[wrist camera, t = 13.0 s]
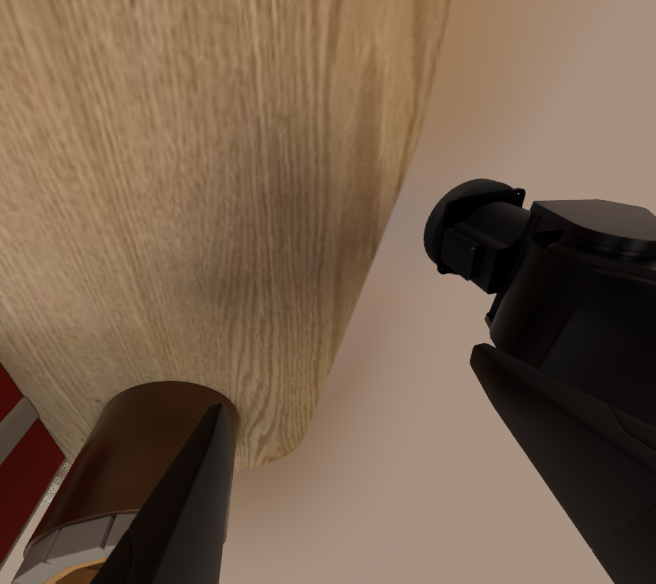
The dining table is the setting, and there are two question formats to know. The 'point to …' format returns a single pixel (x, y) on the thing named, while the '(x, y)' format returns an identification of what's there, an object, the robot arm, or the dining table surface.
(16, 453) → the red gift box
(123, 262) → the dining table surface
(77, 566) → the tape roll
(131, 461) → the brown cylindrical pot
